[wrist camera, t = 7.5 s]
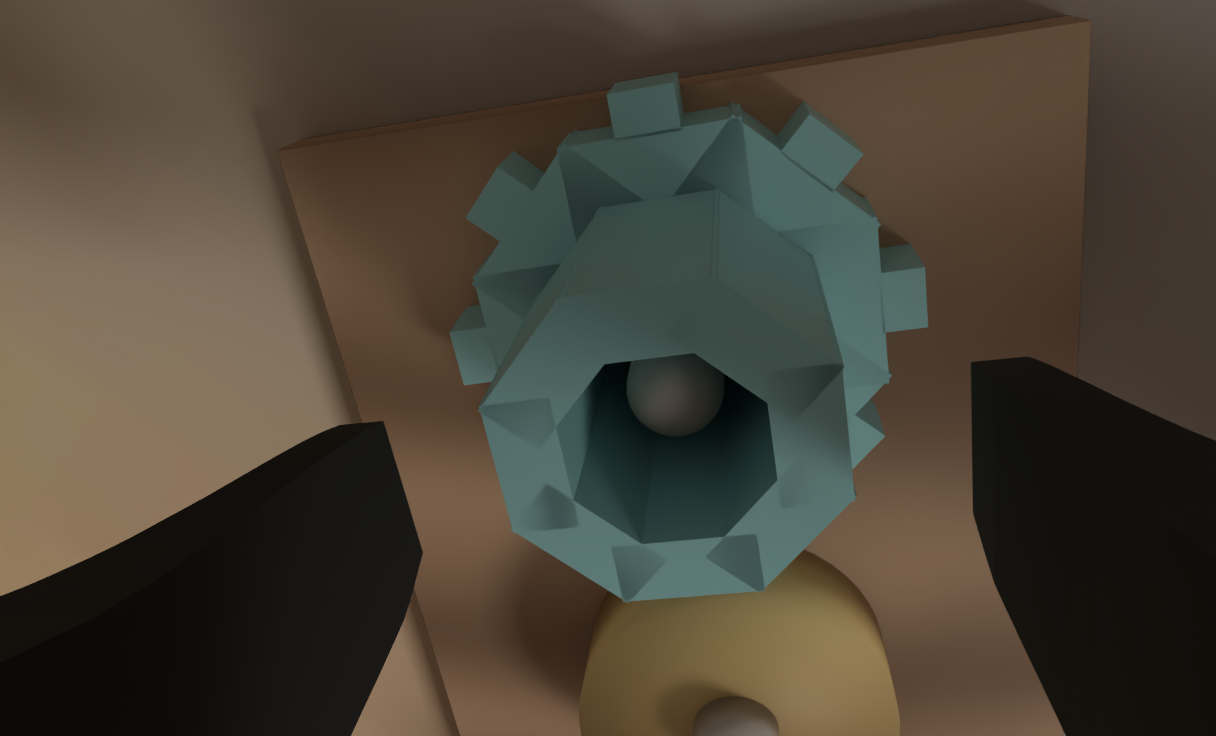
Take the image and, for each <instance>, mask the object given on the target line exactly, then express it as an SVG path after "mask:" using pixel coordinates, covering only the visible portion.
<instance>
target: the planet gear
mask: <svg viewBox="0 0 1216 736" xmlns="http://www.w3.org/2000/svg"><path fill="white" fill-rule="evenodd" d="M606 95H607V100H608V105H609V111H610V116H611V122H612V126H609V127H603V128H597V129H591V130H586V131H580V132H579V131H578V130H576V129H575V130H574V132H573V133H569V134H568V135H567V136H566V137H565V139H564V140H563V141H562V142H561V144H560V145H559V146H558V147H557V153H558V154H557V155H556V157H555V158H554V160H553V161H552V163H551V164H550V166H549V167H548V169H547V170H546V172H543V171H542V170H540V169H539V168H538V167H536V166H535V165H533V164H532V163H530V162H529V161H528V160H526V159H525V158H523V157H522V156H520V155H519V154H518V153H516V152H515V151H513V152H512V153H511V154H510V155H509V156H508V157H507V158H506V159H505V160H504V161H503V162H502V163H501V164H500V165H499V166H498V167H497V169H496V170H495V172H494V173H493V175H492V177H491V178H490V180H489V181H488V183H487V184H486V186H485V188H484V189H483V191H482V192H481V194H480V196H479V197H478V199H477V200H476V202H475V204H474V205H473V207H472V208H471V210H470V212H469V213H468V215H467V216H466V219H467V220H469V221H470V222H472V223H473V224H475V225H476V226H478V227H479V228H481V229H482V230H484V231H485V232H487V233H488V234H490V235H491V236H492V237H494V238H495V239H497V240H498V241H500V242H499V244H498V245H497V247H496V248H495V250H494V251H493V253H492V254H489V256H488V257H487V258H486V260H485V261H484V262H483V264H482V265H481V266H480V268H479V269H478V270H477V272H476V273H475V274H474V276H473V279H474V282H473V283H472V285H473V286H475V287H476V290H477V294H478V298H479V302H480V305H475V306H468V307H467V308H466V309H465V310H464V312H463V313H462V315H461V316H460V318H459V319H458V320H457V322H456V323H455V325H454V326H453V328H452V329H451V330H450V332H449V333H450V337H451V340H452V344H453V348H454V351H455V355H456V358H457V362H458V366H459V369H460V373H461V376H462V380H463V384H464V385H471V384H479V383H487V382H491V384H490V386H489V388H488V390H487V391H486V393H485V395H484V397H483V399H482V401H481V403H480V405H479V410H478V412H480V413H481V416H482V420H483V424H484V427H485V431H486V435H487V438H488V442H489V446H490V449H491V453H492V457H493V460H494V464H495V468H496V471H497V475H498V479H499V482H500V486H501V489H502V493H503V497H504V500H505V504H506V508H507V511H508V515H509V519H510V522H511V530H512V531H513V533H517V534H519V535H520V536H522V537H523V538H525V539H527V540H528V541H530V542H531V543H533V544H535V545H536V546H538V547H539V548H541V549H543V550H544V551H546V552H547V553H549V554H551V555H552V556H554V557H555V558H557V559H559V560H560V561H562V562H563V563H565V564H567V565H568V566H570V567H572V568H573V569H575V570H576V571H578V572H580V573H581V574H583V575H584V576H586V577H588V578H589V579H591V580H592V581H594V582H596V583H597V584H599V585H600V586H602V587H604V588H605V589H607V590H608V591H610V592H612V593H613V594H615V595H616V596H618V597H620V598H621V599H623V602H628V603H629V602H630V601H640V600H653V599H666V598H679V597H692V596H705V595H717V594H730V593H743V592H756V591H758V592H760V593H761V592H762V591H765V588H766V587H767V586H768V585H769V584H770V583H771V582H772V581H773V580H774V579H775V578H776V577H777V576H778V575H779V574H780V573H781V572H782V571H783V570H784V569H785V568H786V567H787V566H788V565H789V564H790V563H791V562H792V561H793V560H794V559H795V558H796V557H797V556H798V555H799V554H800V553H801V552H802V551H803V550H804V549H805V548H806V547H807V546H808V545H809V544H810V543H811V542H812V541H813V540H814V539H815V538H816V537H817V536H818V535H819V534H820V533H821V532H822V531H823V530H824V529H825V528H826V527H827V526H828V525H829V524H830V523H831V522H832V521H833V520H834V519H835V518H836V517H837V516H838V515H839V514H840V513H841V512H842V511H843V510H844V509H845V508H846V507H847V506H848V505H849V504H850V503H851V502H854V501H855V498H856V497H857V495H856V491H855V486H854V482H853V474H852V469H853V468H854V467H855V466H856V465H857V464H858V463H859V462H860V461H861V460H862V459H863V458H864V457H865V456H866V455H867V454H868V453H869V452H870V451H871V450H872V449H873V448H874V447H875V446H876V445H877V444H878V443H879V442H880V441H881V440H882V439H883V438H884V437H885V433H884V430H883V427H882V424H881V421H880V418H879V415H878V411H877V408H876V405H875V403H874V402H872V401H871V400H870V399H871V397H872V396H873V395H874V394H875V393H876V392H877V391H878V390H879V389H880V388H881V387H882V386H883V385H884V384H887V383H889V379H890V378H891V376H892V374H891V372H890V369H889V366H888V359H887V346H886V332H894V331H902V330H910V329H918V328H926V327H928V315H927V296H926V277H925V266H924V265H923V263H922V261H921V260H920V258H919V257H918V255H917V253H916V252H915V250H914V248H913V247H912V245H911V244H906V245H899V246H892V247H885V248H879V236H878V228H879V227H880V225H881V223H880V221H879V219H878V218H877V216H876V214H875V212H874V210H873V208H872V207H871V205H870V203H869V201H868V199H867V197H860V196H859V195H857V194H856V193H855V192H853V191H852V190H851V189H849V188H848V187H847V186H845V185H844V184H843V183H841V181H842V180H843V179H844V178H845V177H846V175H847V174H848V173H849V172H850V170H851V169H852V168H853V167H854V166H855V164H856V163H857V162H858V161H859V160H860V158H861V157H862V156H863V155H864V154H863V153H862V151H861V149H860V148H859V146H858V145H857V143H856V142H855V140H854V138H852V137H851V136H850V135H848V134H847V133H846V132H844V131H843V130H842V129H840V128H839V127H838V126H836V125H835V124H834V123H832V122H831V121H830V120H828V119H827V118H826V117H824V116H823V115H822V114H820V113H819V112H818V111H816V110H815V109H814V108H812V107H811V106H810V105H808V104H807V103H806V102H804V101H803V102H802V103H801V105H800V106H799V107H798V109H797V110H796V111H795V113H794V114H793V115H792V116H791V118H790V119H789V120H788V122H787V123H786V124H785V126H784V127H783V128H782V130H781V131H780V132H779V133H778V135H776V134H775V133H774V132H772V131H771V130H770V129H768V128H767V127H766V126H764V125H763V124H762V123H760V122H759V121H757V120H756V119H755V118H753V117H752V116H751V115H749V114H748V113H747V112H745V111H744V110H743V109H741V104H735V103H733V102H731V104H730V105H729V106H724V107H718V108H712V109H706V110H701V111H695V112H689V113H684V110H683V104H682V97H681V91H680V84H679V77H678V72H673V73H667V74H662V75H656V76H651V77H645V78H640V79H634V80H629V81H623V82H618V83H615V84H614V85H613V87H612V88H611V89H610V91H609V92H608V93H607V94H606ZM690 353H695V354H696V355H698V356H699V357H701V358H702V359H704V360H705V361H707V362H708V363H709V364H711V365H712V366H714V367H715V368H717V369H718V370H720V371H721V372H723V373H724V374H725V383H724V397H723V401H722V404H721V407H720V409H719V411H718V413H717V415H716V416H715V417H714V419H713V420H712V421H711V422H710V423H709V424H708V425H707V426H705V427H704V428H703V429H701V430H699V431H697V432H695V433H693V434H690V435H686V436H680V437H672V436H665V435H661V434H658V433H656V432H654V431H652V430H650V429H649V428H647V427H646V426H644V425H643V424H642V423H641V422H640V421H639V420H638V419H637V417H636V416H635V414H634V413H633V411H632V409H631V407H630V405H629V401H628V397H627V378H628V373H629V369H630V364H631V361H634V360H642V359H650V358H658V357H666V356H674V355H682V354H690Z"/></svg>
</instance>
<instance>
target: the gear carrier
mask: <svg viewBox="0 0 1216 736" xmlns="http://www.w3.org/2000/svg"><path fill="white" fill-rule="evenodd" d="M1090 41H1091V20H1086V19H1082V18H1077V17H1073V16H1062V17H1056V18H1050V19H1044V20H1037V21H1031V22H1025V23H1019V24H1013V25H1006V26H1000V27H994V28H988V29H982V30H976V31H969V32H963V33H957V34H951V35H945V36H938V37H932V38H926V39H920V40H914V41H908V42H901V43H895V44H889V45H883V46H877V47H870V48H864V49H858V50H852V51H846V52H840V53H833V54H827V55H821V56H815V57H809V58H802V59H796V60H790V61H784V62H778V63H772V64H765V65H759V66H753V67H747V68H741V69H734V70H728V71H722V72H716V73H710V74H704V75H697V76H691V77H685V78H679V84H680V91H681V97H682V104H683V110H684V113H689V112H695V111H701V110H706V109H712V108H718V107H724V106H729V105H730V104H731V102H733V103H735V104H741V109H743V110H744V111H745V112H747V113H748V114H749V115H751V116H752V117H753V118H755V119H756V120H757V121H759V122H760V123H762V124H763V125H764V126H766V127H767V128H768V129H770V130H771V131H772V132H774V133H775V134H776V135H778V133H779V132H780V131H781V130H782V128H783V127H784V126H785V124H786V123H787V122H788V120H789V119H790V118H791V116H792V115H793V114H794V113H795V111H796V110H797V109H798V107H799V106H800V105H801V103H802V102H803V101H804V102H806V103H807V104H808V105H810V106H811V107H812V108H814V109H815V110H816V111H818V112H819V113H820V114H822V115H823V116H824V117H826V118H827V119H828V120H830V121H831V122H832V123H834V124H835V125H836V126H838V127H839V128H840V129H842V130H843V131H844V132H846V133H847V134H848V135H850V136H851V137H852V138H854V140H855V142H856V143H857V145H858V146H859V148H860V149H861V151H862V153H863V154H864V155H863V156H862V157H861V158H860V160H859V161H858V162H857V163H856V164H855V166H854V167H853V168H852V169H851V170H850V172H849V173H848V174H847V175H846V177H845V178H844V179H843V180H842V181H841V183H843V184H844V185H845V186H847V187H848V188H849V189H851V190H852V191H853V192H855V193H856V194H857V195H859V196H860V197H867V199H868V201H869V203H870V205H871V207H872V208H873V210H874V212H875V214H876V216H877V218H878V219H879V221H880V223H881V225H880V227H879V228H878V236H879V248H885V247H892V246H899V245H906V244H911V245H912V247H913V248H914V250H915V252H916V253H917V255H918V257H919V258H920V260H921V261H922V263H923V265H924V266H925V277H926V296H927V315H928V327H926V328H918V329H910V330H902V331H894V332H886V346H887V359H888V366H889V369H890V372H891V374H892V376H891V378H890V379H889V383H887V384H884V385H883V386H882V387H881V388H880V389H879V390H878V391H877V392H876V393H875V394H874V395H873V396H872V397H871V399H870V400H871V401H872V402H874V403H875V405H876V408H877V411H878V415H879V418H880V421H881V424H882V427H883V430H884V433H885V437H884V438H883V439H882V440H881V441H880V442H879V443H878V444H877V445H876V446H875V447H874V448H873V449H872V450H871V451H870V452H869V453H868V454H867V455H866V456H865V457H864V458H863V459H862V460H861V461H860V462H859V463H858V464H857V465H856V466H855V467H854V468H853V469H852V474H853V482H854V486H855V491H856V495H857V497H856V498H855V501H854V502H851V503H850V504H849V505H848V506H847V507H846V508H845V509H844V510H843V511H842V512H841V513H840V514H839V515H838V516H837V517H836V518H835V519H834V520H833V521H832V522H831V523H830V524H829V525H828V526H827V527H826V528H825V529H824V530H823V531H822V532H821V533H820V534H819V535H818V536H817V537H816V538H815V539H814V540H813V541H812V542H811V543H810V544H809V545H808V546H807V547H806V548H805V549H804V550H803V551H802V552H801V553H800V554H799V555H798V556H797V557H796V558H795V559H794V560H793V561H792V562H791V563H790V564H789V565H788V566H787V567H786V568H785V569H784V570H783V571H782V572H781V573H780V574H779V575H778V576H777V577H776V578H775V579H774V580H773V581H772V582H771V583H770V584H769V585H768V586H767V587H766V588H765V591H762V592H761V593H760V592H758V591H756V592H743V593H730V594H717V595H705V596H692V597H679V598H666V599H653V600H640V601H630V602H629V603H628V602H623V599H621V598H620V597H618V596H616V595H615V594H613V593H612V592H610V591H608V590H607V589H605V588H604V587H602V586H600V585H599V584H597V583H596V582H594V581H592V580H591V579H589V578H588V577H586V576H584V575H583V574H581V573H580V572H578V571H576V570H575V569H573V568H572V567H570V566H568V565H567V564H565V563H563V562H562V561H560V560H559V559H557V558H555V557H554V556H552V555H551V554H549V553H547V552H546V551H544V550H543V549H541V548H539V547H538V546H536V545H535V544H533V543H531V542H530V541H528V540H527V539H525V538H523V537H522V536H520V535H519V534H517V533H513V531H512V530H511V522H510V519H509V515H508V511H507V508H506V504H505V500H504V497H503V493H502V489H501V486H500V482H499V479H498V475H497V471H496V468H495V464H494V460H493V457H492V453H491V449H490V446H489V442H488V438H487V435H486V431H485V427H484V424H483V420H482V416H481V413H480V412H478V410H479V405H480V403H481V401H482V399H483V397H484V395H485V393H486V391H487V390H488V388H489V386H490V384H491V382H487V383H479V384H471V385H464V384H463V380H462V376H461V373H460V369H459V366H458V362H457V358H456V355H455V351H454V348H453V344H452V340H451V337H450V333H449V332H450V330H451V329H452V328H453V326H454V325H455V323H456V322H457V320H458V319H459V318H460V316H461V315H462V313H463V312H464V310H465V309H466V308H467V307H468V306H475V305H480V302H479V298H478V294H477V290H476V287H475V286H473V285H472V283H473V282H474V279H473V276H474V274H475V273H476V272H477V270H478V269H479V268H480V266H481V265H482V264H483V262H484V261H485V260H486V258H487V257H488V256H489V254H492V253H493V251H494V250H495V248H496V247H497V245H498V244H499V242H500V241H498V240H497V239H495V238H494V237H492V236H491V235H490V234H488V233H487V232H485V231H484V230H482V229H481V228H479V227H478V226H476V225H475V224H473V223H472V222H470V221H469V220H467V219H466V216H467V215H468V213H469V212H470V210H471V208H472V207H473V205H474V204H475V202H476V200H477V199H478V197H479V196H480V194H481V192H482V191H483V189H484V188H485V186H486V184H487V183H488V181H489V180H490V178H491V177H492V175H493V173H494V172H495V170H496V169H497V167H498V166H499V165H500V164H501V163H502V162H503V161H504V160H505V159H506V158H507V157H508V156H509V155H510V154H511V153H512V152H513V151H515V152H516V153H518V154H519V155H520V156H522V157H523V158H525V159H526V160H528V161H529V162H530V163H532V164H533V165H535V166H536V167H538V168H539V169H540V170H542V171H543V172H546V170H547V169H548V167H549V166H550V164H551V163H552V161H553V160H554V158H555V157H556V155H557V154H558V153H557V147H558V146H559V145H560V144H561V142H562V141H563V140H564V139H565V137H566V136H567V135H568V134H569V133H573V132H574V130H575V129H576V130H578V131H579V132H580V131H586V130H591V129H597V128H603V127H609V126H612V122H611V116H610V111H609V105H608V100H607V95H606V94H607V93H608V92H609V91H610V90H605V91H598V92H592V93H586V94H580V95H574V96H568V97H561V98H555V99H549V100H543V101H537V102H530V103H524V104H518V105H512V106H506V107H500V108H493V109H487V110H481V111H475V112H469V113H462V114H456V115H450V116H444V117H438V118H432V119H425V120H419V121H413V122H407V123H401V124H394V125H388V126H382V127H376V128H370V129H364V130H357V131H351V132H345V133H339V134H333V135H326V136H320V137H314V138H308V139H302V140H299V141H297V142H295V143H293V144H291V145H289V146H287V147H285V148H283V149H280V150H278V151H277V152H278V155H279V159H280V162H281V165H282V168H283V171H284V175H285V178H286V181H287V184H288V187H289V191H290V194H291V197H292V200H293V203H294V207H295V210H296V213H297V216H298V219H299V223H300V226H301V229H302V232H303V235H304V238H305V242H306V245H307V248H308V251H309V254H310V258H311V261H312V264H313V267H314V270H315V274H316V277H317V280H318V283H319V286H320V290H321V293H322V296H323V299H324V302H325V306H326V309H327V312H328V315H329V318H330V322H331V325H332V328H333V331H334V334H335V338H336V341H337V344H338V347H339V350H340V353H341V357H342V360H343V363H344V366H345V369H346V373H347V376H348V379H349V382H350V385H351V389H352V392H353V395H354V398H355V401H356V405H357V408H358V411H359V414H360V417H361V421H362V423H367V422H377V421H384V424H385V428H386V431H387V434H388V438H389V441H390V444H391V448H392V451H393V454H394V458H395V461H396V464H397V468H398V471H399V474H400V478H401V481H402V484H403V488H404V491H405V494H406V498H407V501H408V504H409V507H410V511H411V514H412V517H413V521H414V524H415V527H416V531H417V534H418V537H419V541H420V544H421V547H422V551H423V555H422V559H421V562H420V566H419V570H418V574H417V578H416V581H415V585H414V590H415V593H416V596H417V599H418V603H419V606H420V609H421V612H422V615H423V619H424V622H425V625H426V628H427V631H428V635H429V638H430V641H431V644H432V647H433V651H434V654H435V657H436V660H437V663H438V667H439V670H440V673H441V676H442V679H443V683H444V686H445V689H446V692H447V695H448V698H449V702H450V705H451V708H452V711H453V714H454V718H455V721H456V724H457V727H458V730H459V734H460V736H1064V731H1063V729H1062V727H1061V725H1060V722H1059V720H1058V718H1057V716H1056V714H1055V712H1054V710H1053V708H1052V706H1051V703H1050V701H1049V699H1048V697H1047V695H1046V693H1045V691H1044V689H1043V687H1042V684H1041V682H1040V680H1039V678H1038V676H1037V674H1036V672H1035V670H1034V668H1033V665H1032V663H1031V661H1030V659H1029V657H1028V655H1027V653H1026V651H1025V649H1024V647H1023V644H1022V642H1021V640H1020V638H1019V636H1018V634H1017V632H1016V629H1015V627H1014V625H1013V623H1012V621H1011V619H1010V617H1009V614H1008V612H1007V610H1006V608H1005V606H1004V604H1003V602H1002V599H1001V597H1000V595H999V593H998V591H997V588H996V586H995V584H994V581H993V578H992V575H991V571H990V568H989V565H988V562H987V559H986V556H985V552H984V549H983V546H982V542H981V539H980V535H979V532H978V529H977V525H976V522H975V518H974V515H973V487H972V411H971V362H976V361H986V360H996V359H1006V358H1016V357H1026V356H1028V357H1031V358H1034V359H1037V360H1040V361H1042V362H1044V363H1047V364H1049V365H1051V366H1054V367H1056V368H1058V369H1060V370H1062V371H1064V372H1066V373H1068V374H1071V375H1073V376H1075V377H1078V351H1079V326H1080V300H1081V274H1082V248H1083V222H1084V196H1085V170H1086V145H1087V119H1088V93H1089V67H1090ZM724 383H725V374H724V373H723V372H721V371H720V370H718V369H717V368H715V367H714V366H712V365H711V364H709V363H708V362H707V361H705V360H704V359H702V358H701V357H699V356H698V355H696V354H695V353H690V354H682V355H674V356H666V357H658V358H650V359H642V360H634V361H631V364H630V369H629V373H628V378H627V397H628V401H629V405H630V407H631V409H632V411H633V413H634V414H635V416H636V417H637V419H638V420H639V421H640V422H641V423H642V424H643V425H644V426H646V427H647V428H649V429H650V430H652V431H654V432H656V433H658V434H661V435H665V436H672V437H680V436H686V435H690V434H693V433H695V432H697V431H699V430H701V429H703V428H704V427H705V426H707V425H708V424H709V423H710V422H711V421H712V420H713V419H714V417H715V416H716V415H717V413H718V411H719V409H720V407H721V404H722V401H723V397H724Z"/></svg>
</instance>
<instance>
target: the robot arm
mask: <svg viewBox="0 0 1216 736" xmlns="http://www.w3.org/2000/svg"><path fill="white" fill-rule="evenodd" d="M971 411H972V487H973V515H974V518H975V522H976V525H977V529H978V532H979V535H980V539H981V542H982V546H983V549H984V552H985V556H986V559H987V562H988V565H989V568H990V571H991V575H992V578H993V581H994V584H995V586H996V588H997V591H998V593H999V595H1000V597H1001V599H1002V602H1003V604H1004V606H1005V608H1006V610H1007V612H1008V614H1009V617H1010V619H1011V621H1012V623H1013V625H1014V627H1015V629H1016V632H1017V634H1018V636H1019V638H1020V640H1021V642H1022V644H1023V647H1024V649H1025V651H1026V653H1027V655H1028V657H1029V659H1030V661H1031V663H1032V665H1033V668H1034V670H1035V672H1036V674H1037V676H1038V678H1039V680H1040V682H1041V684H1042V687H1043V689H1044V691H1045V693H1046V695H1047V697H1048V699H1049V701H1050V703H1051V706H1052V708H1053V710H1054V712H1055V714H1056V716H1057V718H1058V720H1059V722H1060V725H1061V727H1062V729H1063V731H1064V733H1065V735H1066V736H1216V441H1215V440H1212V439H1210V438H1207V437H1205V436H1202V435H1200V434H1197V433H1195V432H1192V431H1190V430H1188V429H1185V428H1183V427H1181V426H1179V425H1176V424H1174V423H1172V422H1169V421H1167V420H1165V419H1163V418H1161V417H1158V416H1156V415H1154V414H1152V413H1150V412H1147V411H1145V410H1143V409H1141V408H1139V407H1137V406H1135V405H1132V404H1130V403H1128V402H1126V401H1124V400H1122V399H1120V398H1118V397H1116V396H1114V395H1112V394H1109V393H1107V392H1105V391H1103V390H1101V389H1099V388H1097V387H1095V386H1093V385H1091V384H1089V383H1087V382H1085V381H1083V380H1081V379H1079V378H1077V377H1075V376H1073V375H1071V374H1068V373H1066V372H1064V371H1062V370H1060V369H1058V368H1056V367H1054V366H1051V365H1049V364H1047V363H1044V362H1042V361H1040V360H1037V359H1034V358H1031V357H1028V356H1026V357H1016V358H1006V359H996V360H986V361H976V362H971ZM422 555H423V551H422V547H421V544H420V541H419V537H418V534H417V531H416V527H415V524H414V521H413V517H412V514H411V511H410V507H409V504H408V501H407V498H406V494H405V491H404V488H403V484H402V481H401V478H400V474H399V471H398V468H397V464H396V461H395V458H394V454H393V451H392V448H391V444H390V441H389V438H388V434H387V431H386V428H385V424H384V421H377V422H367V423H357V424H347V425H339V426H336V427H334V428H331V429H329V430H326V431H324V432H321V433H319V434H317V435H315V436H313V437H311V438H309V439H307V440H305V441H303V442H301V443H299V444H297V445H296V446H294V447H292V448H290V449H288V450H287V451H285V452H283V453H281V454H279V455H278V456H276V457H274V458H272V459H271V460H269V461H267V462H265V463H264V464H262V465H260V466H258V467H257V468H255V469H253V470H252V471H250V472H248V473H246V474H245V475H243V476H241V477H239V478H238V479H236V480H234V481H233V482H231V483H229V484H227V485H226V486H224V487H222V488H220V489H219V490H217V491H215V492H214V493H212V494H210V495H208V496H207V497H205V498H203V499H201V500H199V501H197V502H196V503H194V504H192V505H190V506H188V507H186V508H185V509H183V510H181V511H179V512H177V513H175V514H174V515H172V516H170V517H168V518H166V519H164V520H163V521H161V522H159V523H157V524H155V525H153V526H151V527H150V528H148V529H146V530H144V531H142V532H140V533H139V534H137V535H135V536H133V537H131V538H129V539H127V540H125V541H123V542H121V543H119V544H117V545H115V546H113V547H111V548H109V549H107V550H105V551H103V552H101V553H99V554H97V555H95V556H93V557H91V558H88V559H86V560H84V561H82V562H80V563H77V564H75V565H73V566H71V567H69V568H66V569H64V570H62V571H60V572H57V573H55V574H53V575H51V576H49V577H46V578H44V579H42V580H40V581H37V582H35V583H32V584H30V585H28V586H25V587H23V588H20V589H18V590H15V591H13V592H10V593H7V594H5V595H2V596H0V736H351V734H352V732H353V730H354V728H355V726H356V723H357V721H358V719H359V717H360V715H361V713H362V711H363V708H364V706H365V704H366V702H367V700H368V698H369V696H370V693H371V691H372V689H373V687H374V685H375V683H376V681H377V678H378V676H379V674H380V672H381V670H382V668H383V665H384V663H385V661H386V659H387V657H388V654H389V652H390V650H391V648H392V645H393V643H394V641H395V639H396V637H397V634H398V632H399V630H400V627H401V625H402V623H403V621H404V618H405V615H406V612H407V608H408V605H409V602H410V599H411V595H412V592H413V589H414V585H415V581H416V578H417V574H418V570H419V566H420V562H421V559H422Z"/></svg>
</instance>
